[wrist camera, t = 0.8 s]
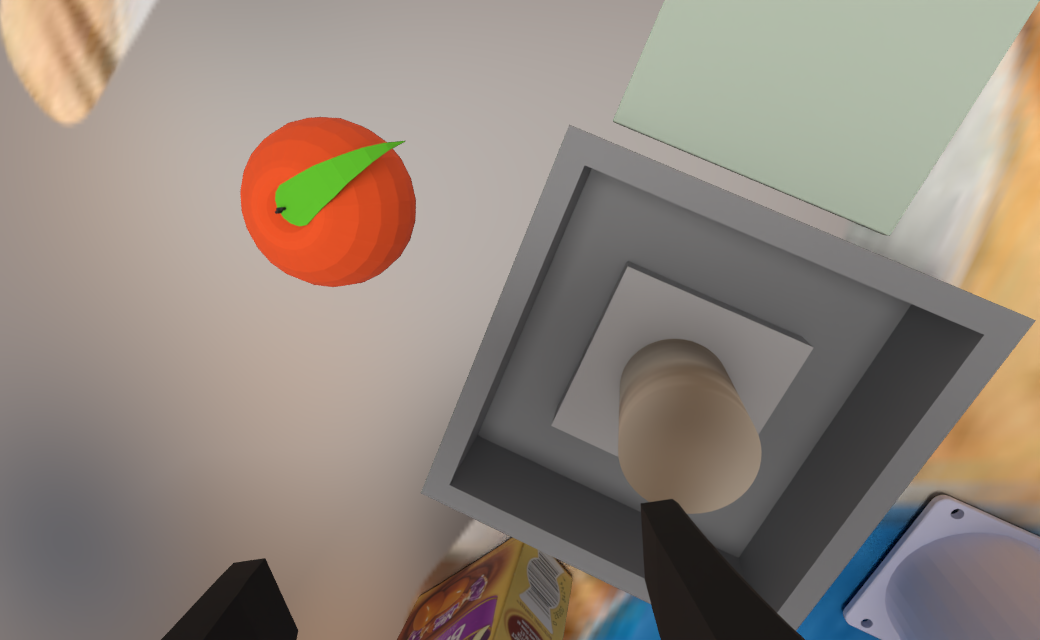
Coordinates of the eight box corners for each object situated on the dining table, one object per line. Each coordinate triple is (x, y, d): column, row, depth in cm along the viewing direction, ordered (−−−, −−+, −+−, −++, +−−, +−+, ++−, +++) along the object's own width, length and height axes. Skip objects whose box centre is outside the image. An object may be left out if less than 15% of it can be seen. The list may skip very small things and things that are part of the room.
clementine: (400, 78, 24) (311, 40, 17) (484, 210, 25) (431, 224, 18) (278, 179, 26) (158, 181, 19) (359, 296, 27) (270, 337, 20)
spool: (750, 366, 22) (789, 427, 16) (697, 453, 23) (718, 535, 18) (648, 321, 22) (655, 366, 17) (602, 410, 23) (596, 477, 18)
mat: (1089, -94, 18) (1104, -102, 17) (882, 234, 22) (889, 235, 21) (757, -214, 19) (761, -226, 18) (613, 121, 23) (613, 120, 22)
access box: (938, 285, 22) (1035, 320, 17) (743, 567, 27) (771, 662, 22) (582, 136, 23) (569, 124, 18) (459, 433, 28) (420, 493, 23)
